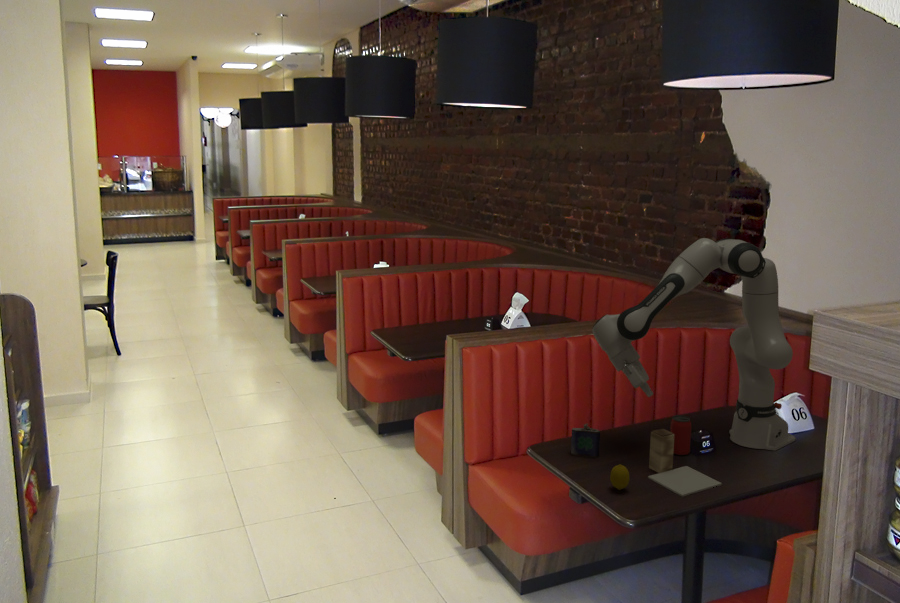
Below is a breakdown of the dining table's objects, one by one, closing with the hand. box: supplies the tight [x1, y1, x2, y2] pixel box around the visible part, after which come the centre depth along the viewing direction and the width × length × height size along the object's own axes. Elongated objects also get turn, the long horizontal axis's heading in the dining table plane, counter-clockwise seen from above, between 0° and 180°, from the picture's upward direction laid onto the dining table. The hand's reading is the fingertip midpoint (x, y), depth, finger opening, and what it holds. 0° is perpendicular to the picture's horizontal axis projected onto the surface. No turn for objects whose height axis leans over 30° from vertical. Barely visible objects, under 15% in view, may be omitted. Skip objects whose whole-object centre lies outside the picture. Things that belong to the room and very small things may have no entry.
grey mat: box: [647, 465, 723, 498], centre depth 215 cm, size 16×14×1 cm
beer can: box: [669, 414, 692, 456], centre depth 235 cm, size 7×7×12 cm
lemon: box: [609, 464, 630, 491], centre depth 209 cm, size 6×6×8 cm
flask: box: [570, 423, 601, 458], centre depth 234 cm, size 9×3×11 cm, turn 76°
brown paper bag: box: [648, 428, 674, 474], centre depth 223 cm, size 5×5×12 cm
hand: (651, 395), depth 232 cm, fingers closed
